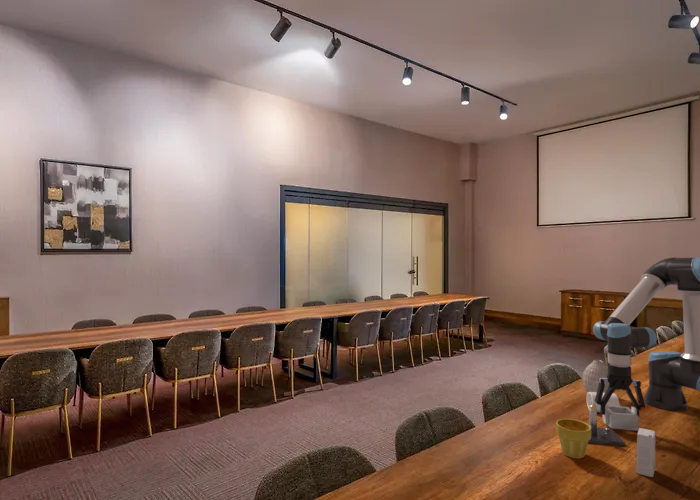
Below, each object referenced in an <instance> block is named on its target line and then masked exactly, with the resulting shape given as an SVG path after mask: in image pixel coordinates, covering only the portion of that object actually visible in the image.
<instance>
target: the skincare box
mask: <svg viewBox="0 0 700 500" xmlns="http://www.w3.org/2000/svg"><path fill="white" fill-rule="evenodd" d="M636 435H637V438H636V472H635V473H637V474H639V475H642V476H646V477H649V478H654V474H655V471H656V431H655V430H652V429H646V428H641V427H638V431H637V434H636Z"/></svg>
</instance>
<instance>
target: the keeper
mask: <svg viewBox="0 0 700 500" xmlns="http://www.w3.org/2000/svg"><path fill="white" fill-rule="evenodd" d="M588 411H589V412H588V413H589V414H588V415H589V416H588V421H589V423H588V425H590V427H591V439H590V440H589V441H588V444H599V445H608V446H609V445H611V446H622V447H626V442H625V441H624V440H623V439H622V438H621V437H620V435H618V433H617V432H616V431H615V430H614V429H613V428H610V427H598V412H597V407H596V406H595V405H590V407H589V409H588Z"/></svg>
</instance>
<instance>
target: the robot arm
mask: <svg viewBox="0 0 700 500" xmlns="http://www.w3.org/2000/svg"><path fill="white" fill-rule="evenodd" d="M639 278H640V281H639V282H638V283H637V284H636V286H635V287H634V288H633V289H632V290H631V291H630V293H629V294H628V295H627V296H626V297H625V298H624V299H623V301H621V303H620V304H619V305H618V306H617V307H616V308H615V309H614V311H613V312H612V313H611V315H610V316H609V317H607V319H606V320H605V321H603V320H600V321H596V323H594V326H593V327H592V332H593V334H594V336H595V337H596V338H597V339H599V340H604V341H607V367H608V376H607V378H601V377H599V386H598V390H597V394H596V398H595V402H596V403H597V404H599V405H600V412H601V413H600V414H601V415H602V414H603V419H602V422H603V423H604V424H605V425H607V424H608V407H607V406H606V404H607V402H608V401H609V399H610V397H611V395H612V394H613V393H615V391H618V390H622V391H625V393H626V395H627V396H628V398H629V400H630V402H631V403H632V405H633V406H630V409H631V410H632V411H633V412H635V413H636V414H637V415H638V418H640V411H641V410H642V408H643V409H644V408H646V404H647V405H648V406H652V407H654V408H658V409H661V410H668V411H678V412H679V411H680V412H681V411H686V410H688V405H689V404H688V402H687V398H686V396H685V393H684V390H683V387H685V388H688V389H692V390H695V391H698V392H700V257H698V256H697V257H668V258H664V259H661V260H659V261H657V262H656V263H653V265H652V266H650V267H649V268H647V269H646V270H645V272H643V273H642V275H641V276H640V277H639ZM673 285H674V286H677V287H676V288H677V291H678V292H679V293H680V294H681V295H682V296H681V297H682V316H683V317H682V318H683V319H682V320H683V339H684V343H683V345H684V352H683V353H681V352H678V351H668V350H667V351H666V350H665V351H663V350H662V351H659V350H658V351H651V352H650V353H649V355H648V361H647V363H648V387H647V389H646V391H645V394H644V395H643V391H642V388H641V387H642V386H641V385H642V382H641V381H640V380H639V379H633V378H632V367H631V365H632V349H638V348H639V349H640V348H645V349H646V348H649V347H653V346H655V345H656V343H657V340H658V339H657V334H656V332H655V331H654V330H653V329H652V328H650V327H647V326H640V327H638V326H637V327H635V326H630V325H631V324H632V323H633V322H634V320H636V318H637V317H638V316H639V314H640V313H641V312H642V311H643V310H644V309H645V308H646V307H647V306H648V304H649V303H650V302H651V300H652V299H653V298H655V296H656V295H657V294H658V293H659V292H661V291H663V290H665V288H666V287H668V286H673ZM607 381H608V382H609V386H608V389H607V391H606V393H605V394H604V396H603V398H602V395H603V391H604V387H605V384H606V382H607ZM631 385H633V387H634V391H635V394H636V397H635V395H634V394H633V392H632V389H631V388H630V386H631ZM636 398H637V399H636ZM601 399H602V400H601Z"/></svg>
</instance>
